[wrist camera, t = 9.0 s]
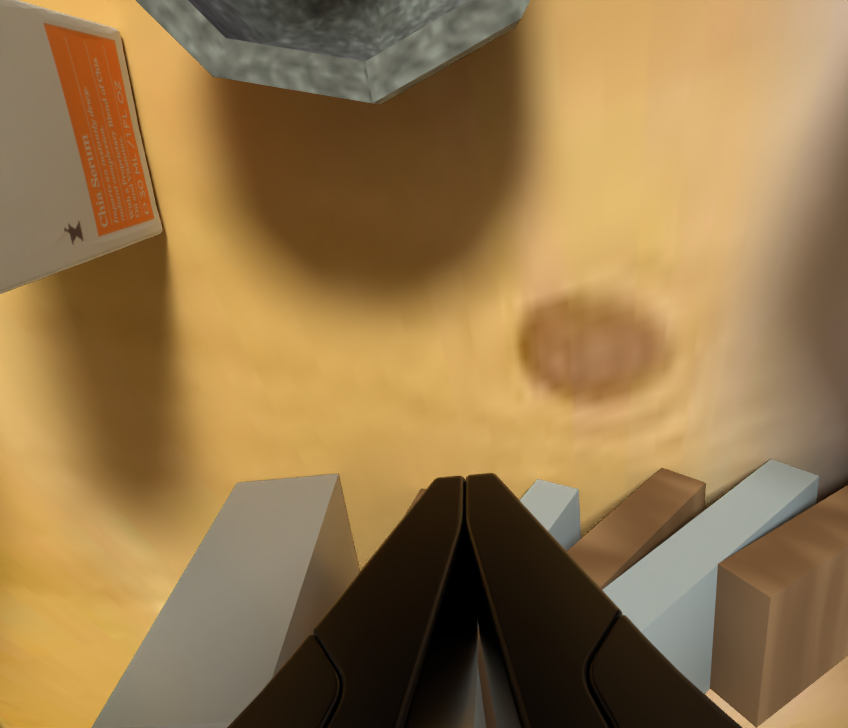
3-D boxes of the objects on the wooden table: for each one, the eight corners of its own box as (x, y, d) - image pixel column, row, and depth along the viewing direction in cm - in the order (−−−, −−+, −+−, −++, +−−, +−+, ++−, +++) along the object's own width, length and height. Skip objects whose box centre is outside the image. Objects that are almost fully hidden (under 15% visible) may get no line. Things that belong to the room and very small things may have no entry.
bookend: (338, 473, 23) (258, 720, 13) (369, 614, 25) (319, 902, 16) (236, 482, 23) (90, 729, 14) (277, 620, 26) (178, 904, 16)
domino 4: (968, 464, 20) (770, 597, 16) (939, 583, 22) (756, 727, 18) (912, 445, 21) (717, 563, 17) (889, 558, 23) (709, 687, 19)
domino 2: (705, 482, 21) (519, 667, 15) (699, 594, 23) (532, 796, 17) (661, 467, 22) (473, 633, 16) (659, 575, 24) (490, 757, 18)
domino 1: (578, 489, 21) (415, 714, 14) (583, 597, 23) (440, 844, 16) (537, 478, 22) (364, 685, 15) (545, 583, 24) (394, 811, 17)
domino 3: (819, 476, 20) (634, 637, 15) (804, 590, 22) (634, 767, 17) (771, 458, 22) (584, 603, 17) (760, 568, 23) (589, 727, 18)
